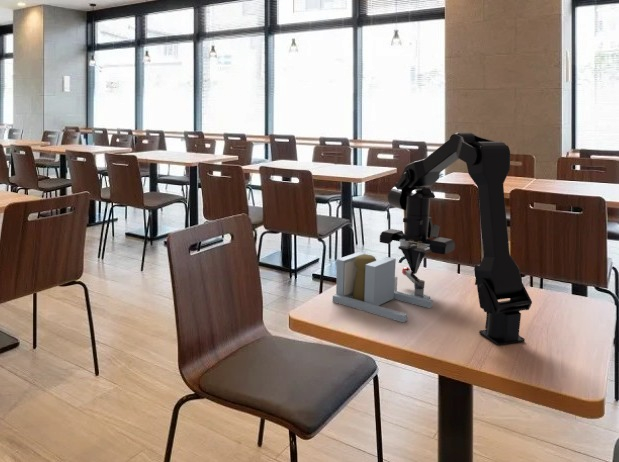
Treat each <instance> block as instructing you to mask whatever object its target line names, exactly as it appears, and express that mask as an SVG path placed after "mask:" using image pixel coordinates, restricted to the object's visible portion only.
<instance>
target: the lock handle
mask: <svg viewBox="0 0 619 462" xmlns="http://www.w3.org/2000/svg"><path fill="white" fill-rule="evenodd" d="M401 273H402V274H403V276H406V277H407V279H408V280H410V281H411V282H412V283H413V286H414V289H415V288H417V289H423V288H424V289H425V280H422V279H420V278H419V277H417V275H416V274H413V273H412V272H411V269H410V267H406V266H405V267H403V268H402V269H401Z"/></svg>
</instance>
